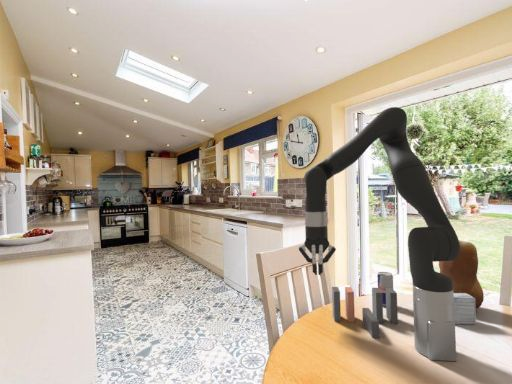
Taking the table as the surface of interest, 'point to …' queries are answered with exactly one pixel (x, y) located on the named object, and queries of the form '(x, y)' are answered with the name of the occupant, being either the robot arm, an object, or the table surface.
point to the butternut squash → (464, 272)
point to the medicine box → (464, 309)
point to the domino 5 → (391, 306)
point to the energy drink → (384, 284)
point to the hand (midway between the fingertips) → (317, 274)
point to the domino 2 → (349, 304)
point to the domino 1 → (336, 304)
